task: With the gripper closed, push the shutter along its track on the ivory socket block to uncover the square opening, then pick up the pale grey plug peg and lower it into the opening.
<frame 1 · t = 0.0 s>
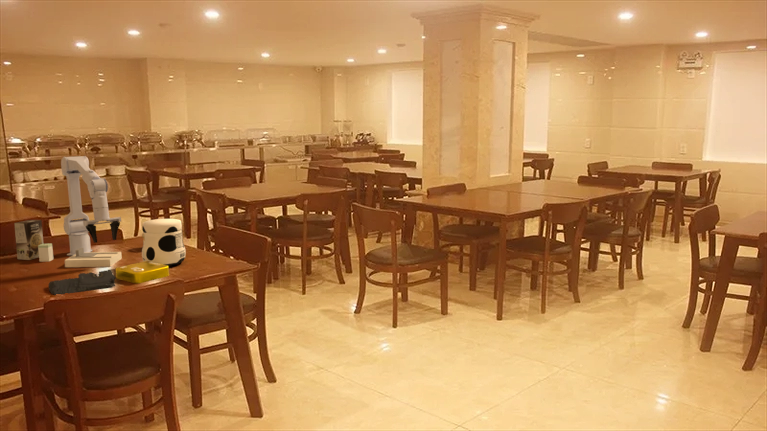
hand: (105, 241, 255), 11 cm above the table, tool pointing down, fingers open, 7 cm apart
socket: (91, 262, 262), on the table
plug: (46, 260, 266), on the table
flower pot: (154, 248, 291), on the table
shutter: (86, 252, 261), point 5 cm above the table, slide at 0.0 cm
coffee box: (31, 257, 272), on the table
dark slate chunk: (82, 288, 228), on the table
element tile: (143, 278, 241), on the table
milk container: (164, 264, 261), on the table
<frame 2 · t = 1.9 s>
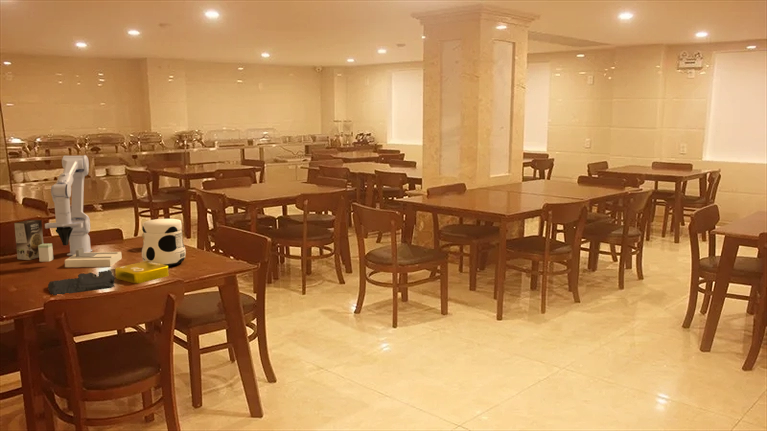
hand: (65, 244, 260), 8 cm above the table, tool pointing down, fingers closed
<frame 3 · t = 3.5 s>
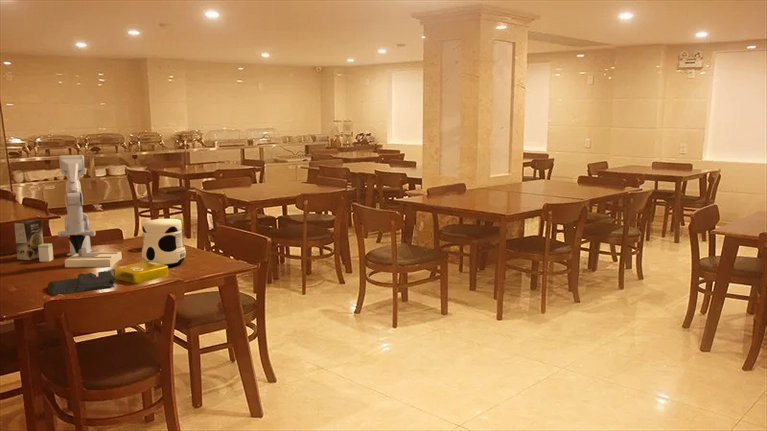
hand: (78, 252, 261), 4 cm above the table, tool pointing down, fingers closed
shutter: (89, 252, 261), point 5 cm above the table, slide at 1.2 cm, touching gripper
everything else where it was.
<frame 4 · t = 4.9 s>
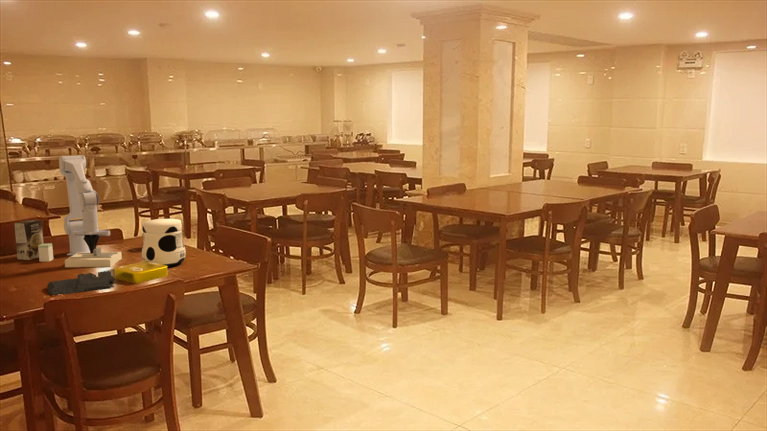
hand: (92, 252, 261), 4 cm above the table, tool pointing down, fingers closed
shutter: (103, 252, 262), point 5 cm above the table, slide at 7.1 cm, touching gripper
everything else where it was.
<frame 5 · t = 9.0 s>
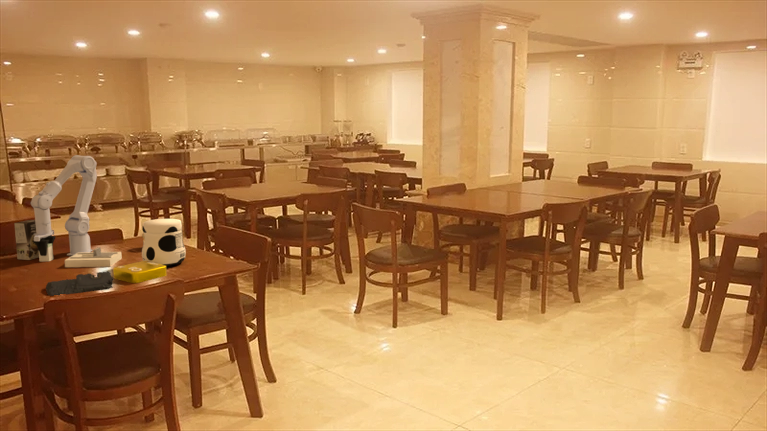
hand: (46, 254, 266), 3 cm above the table, tool pointing down, fingers closed on plug, 4 cm apart
plug: (46, 260, 266), on the table, touching gripper
shutter: (103, 252, 262), point 5 cm above the table, slide at 7.1 cm
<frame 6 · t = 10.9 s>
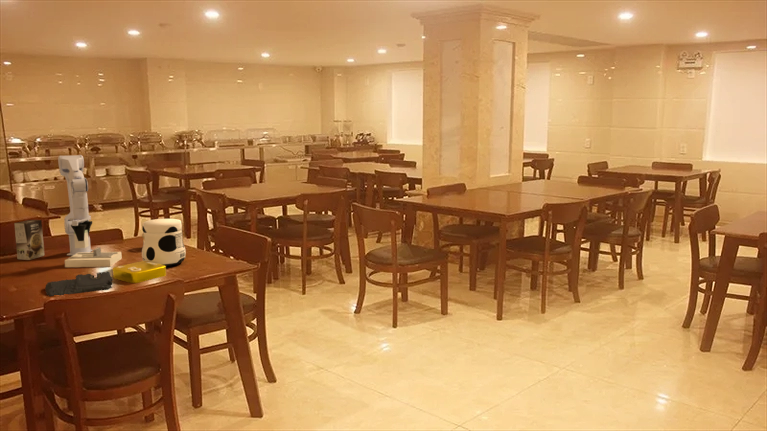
hand: (83, 239, 260), 10 cm above the table, tool pointing down, fingers closed on plug, 4 cm apart
plug: (82, 246, 261), point 7 cm above the table, touching gripper
when the fingers open (4 cm above the table, at t = 12.7 s): plug drops 1 cm, resting in socket.
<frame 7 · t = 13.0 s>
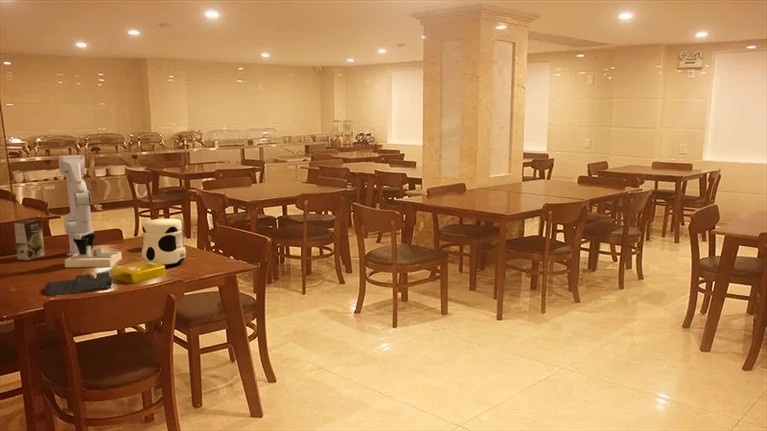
hand: (86, 252, 261), 4 cm above the table, tool pointing down, fingers open, 6 cm apart
plug: (85, 263, 262), resting in socket
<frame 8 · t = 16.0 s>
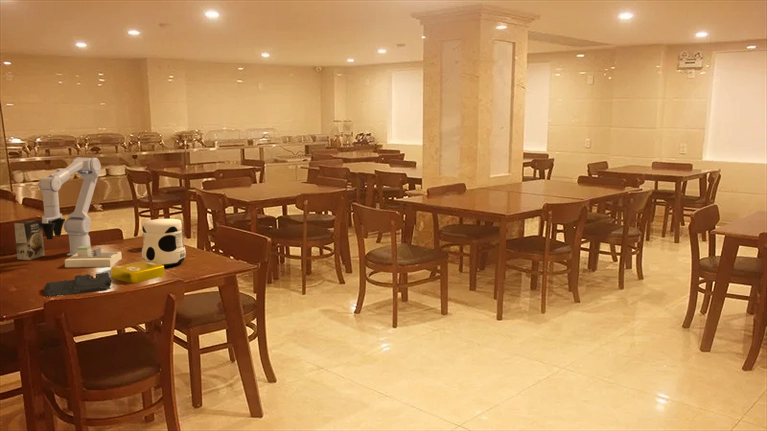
hand: (53, 237, 263), 10 cm above the table, tool pointing down, fingers open, 7 cm apart
at the end: plug 0.7 cm from the target spot, resting in socket; plug tilted 0°; shutter slide at 7.1 cm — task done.
